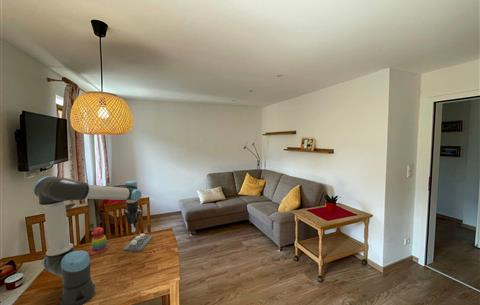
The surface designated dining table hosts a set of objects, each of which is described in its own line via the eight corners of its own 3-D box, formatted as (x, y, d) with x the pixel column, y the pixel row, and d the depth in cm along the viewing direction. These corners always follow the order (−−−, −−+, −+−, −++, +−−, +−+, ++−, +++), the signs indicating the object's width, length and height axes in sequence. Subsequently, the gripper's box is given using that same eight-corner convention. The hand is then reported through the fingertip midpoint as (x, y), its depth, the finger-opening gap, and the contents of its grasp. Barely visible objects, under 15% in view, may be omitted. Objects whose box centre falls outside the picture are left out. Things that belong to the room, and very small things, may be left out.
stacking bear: (92, 248, 158) (91, 226, 157) (108, 245, 162) (106, 223, 161) (89, 256, 148) (87, 232, 147) (105, 252, 153) (104, 229, 151)
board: (141, 251, 155) (140, 247, 155) (122, 250, 155) (122, 247, 155) (152, 237, 175) (152, 234, 174) (136, 237, 175) (136, 234, 175)
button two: (139, 241, 163) (139, 237, 162) (134, 241, 163) (134, 237, 162) (142, 239, 167) (142, 235, 166) (137, 239, 167) (137, 235, 166)
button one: (135, 246, 156) (135, 242, 156) (130, 246, 156) (129, 242, 156) (138, 243, 160) (137, 239, 160) (133, 243, 160) (132, 239, 160)
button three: (143, 239, 169) (143, 235, 169) (138, 239, 169) (138, 235, 169) (146, 236, 173) (145, 233, 173) (141, 236, 173) (141, 233, 173)
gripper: (143, 199, 159) (144, 229, 161) (126, 199, 159) (128, 229, 161) (138, 203, 151) (139, 234, 154) (120, 203, 152) (122, 233, 154)
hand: (133, 231), depth 157 cm, fingers closed
